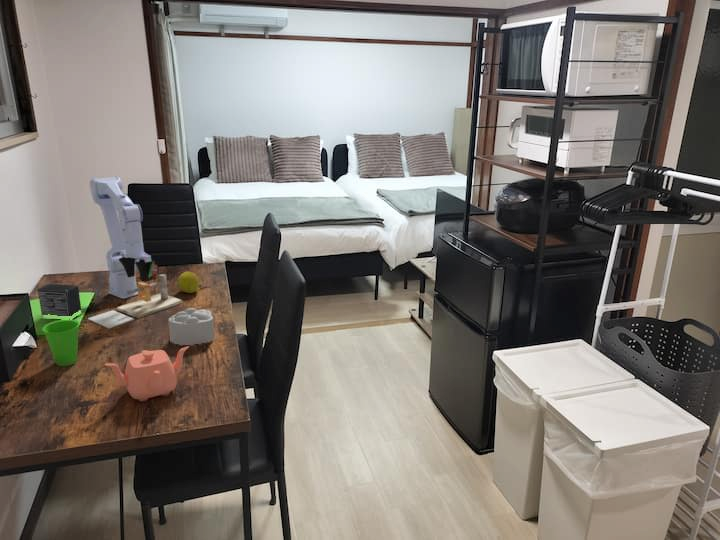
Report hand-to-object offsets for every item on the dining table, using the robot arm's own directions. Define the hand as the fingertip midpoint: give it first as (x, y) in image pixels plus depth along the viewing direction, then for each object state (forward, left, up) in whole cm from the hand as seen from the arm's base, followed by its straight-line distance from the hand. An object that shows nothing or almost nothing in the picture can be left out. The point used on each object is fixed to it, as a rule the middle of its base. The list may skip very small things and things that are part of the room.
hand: (137, 278), depth 182 cm
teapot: (+53, -33, -11) cm, 63 cm away
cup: (+20, -37, -11) cm, 43 cm away
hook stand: (+3, +2, -10) cm, 11 cm away
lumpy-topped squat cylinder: (+35, -6, -11) cm, 37 cm away
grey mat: (+3, -13, -10) cm, 17 cm away
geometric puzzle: (-25, +22, -11) cm, 35 cm away
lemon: (+2, +20, -11) cm, 23 cm away
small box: (-12, -21, -11) cm, 27 cm away
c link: (+3, 0, -7) cm, 8 cm away
